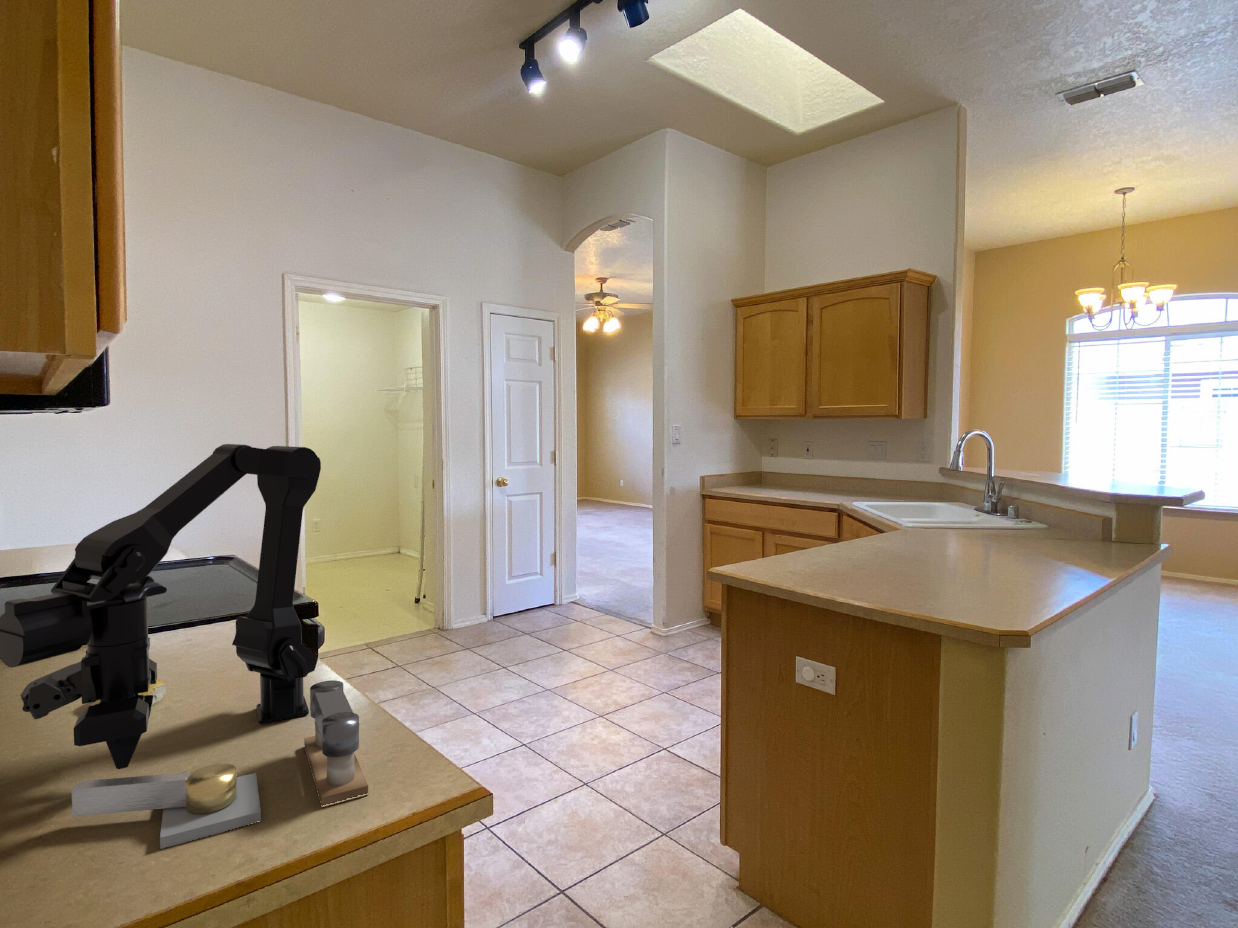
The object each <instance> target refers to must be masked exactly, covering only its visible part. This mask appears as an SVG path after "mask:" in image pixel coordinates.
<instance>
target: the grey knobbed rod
mask: <svg viewBox="0 0 1238 928" xmlns="http://www.w3.org/2000/svg"><path fill="white" fill-rule="evenodd" d="M309 695H310V696H309V706H310V710H309V714H310V716H309V717H311V718H313V719H314V721H315V720H316V723H317V726H318V729H319V732H320V735H321V738H322V753H323V754H324V755H325V756H327V757H342V756H346V755H349V754H352V753H353V752H354V753H355V752H357V750H358V749H359V748H360V716H359V714H357V713H356V712H354V711H353V709H352V707H351V705H350V703H349V701H348V698H347V696H346V694H345V692H344V683H343V682H342V681H340V680H333V679H332V680H323V681H320V682H317V683H315V684H312V685H311V686H310V687H309Z"/></svg>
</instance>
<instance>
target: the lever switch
mask: <svg viewBox="0 0 1238 928" xmlns="http://www.w3.org/2000/svg"><path fill="white" fill-rule="evenodd" d="M237 776H238V775H237V767H236V766H235V765H234V764H231V763H227V762H226V763H222V762H221V763H213V764H210V765H205V766H203V767H200V768H198V769H195V770H194V771H187V772H186V771H185V772H176V773H175V772H174V773H163V774H151V775H141V776H140V775H138V776H127V777H126V776H125V777H116V778H115V777H114V778H103V779H91V780H80V781H79V782H78V783H77V784H76V785H74V786H73V787H72V788H71V789H70V790H71V813H72V817H73V818H75V817H76V818H77V817H86V816H94V815H95V816H96V815H107V814H116V813H117V814H119V813H129V812H137V811H147V810H148V811H149V810H150V811H151V810H159V809H160V810H162V809H163V808H173V807H184V806H186V810H187V811H188V812H190V813H194V814H204V813H210V812H214V811H217V810H220V809H222V808H224V807H226V806H228V805H230V804H231V803H232V802H233V801H234V800H235V799H236V797H237Z"/></svg>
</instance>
